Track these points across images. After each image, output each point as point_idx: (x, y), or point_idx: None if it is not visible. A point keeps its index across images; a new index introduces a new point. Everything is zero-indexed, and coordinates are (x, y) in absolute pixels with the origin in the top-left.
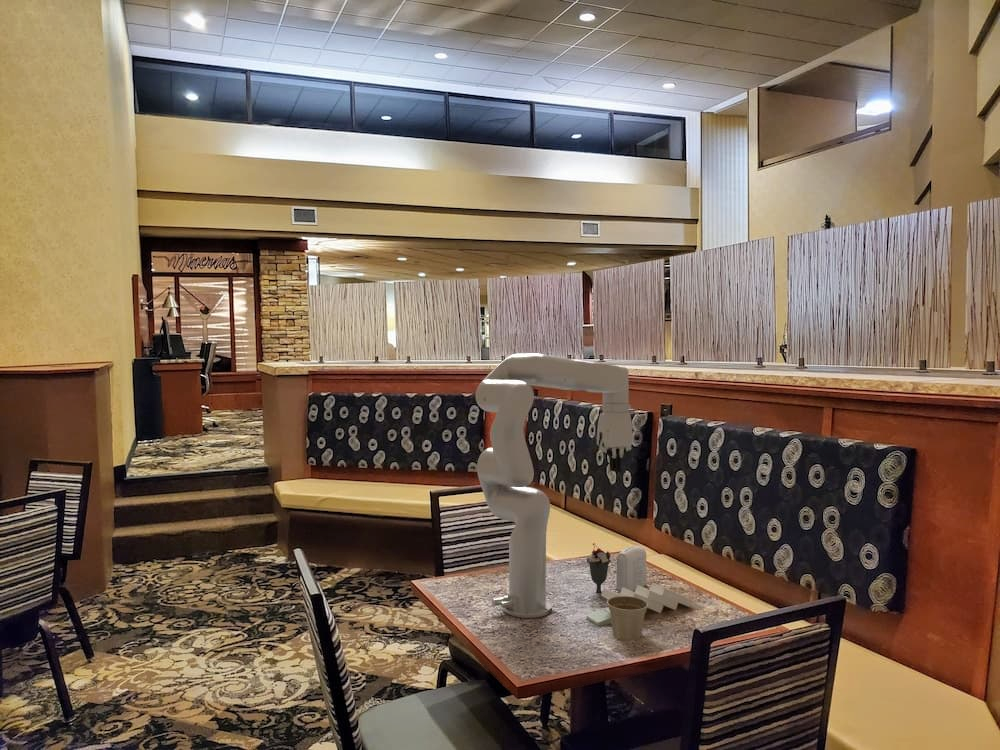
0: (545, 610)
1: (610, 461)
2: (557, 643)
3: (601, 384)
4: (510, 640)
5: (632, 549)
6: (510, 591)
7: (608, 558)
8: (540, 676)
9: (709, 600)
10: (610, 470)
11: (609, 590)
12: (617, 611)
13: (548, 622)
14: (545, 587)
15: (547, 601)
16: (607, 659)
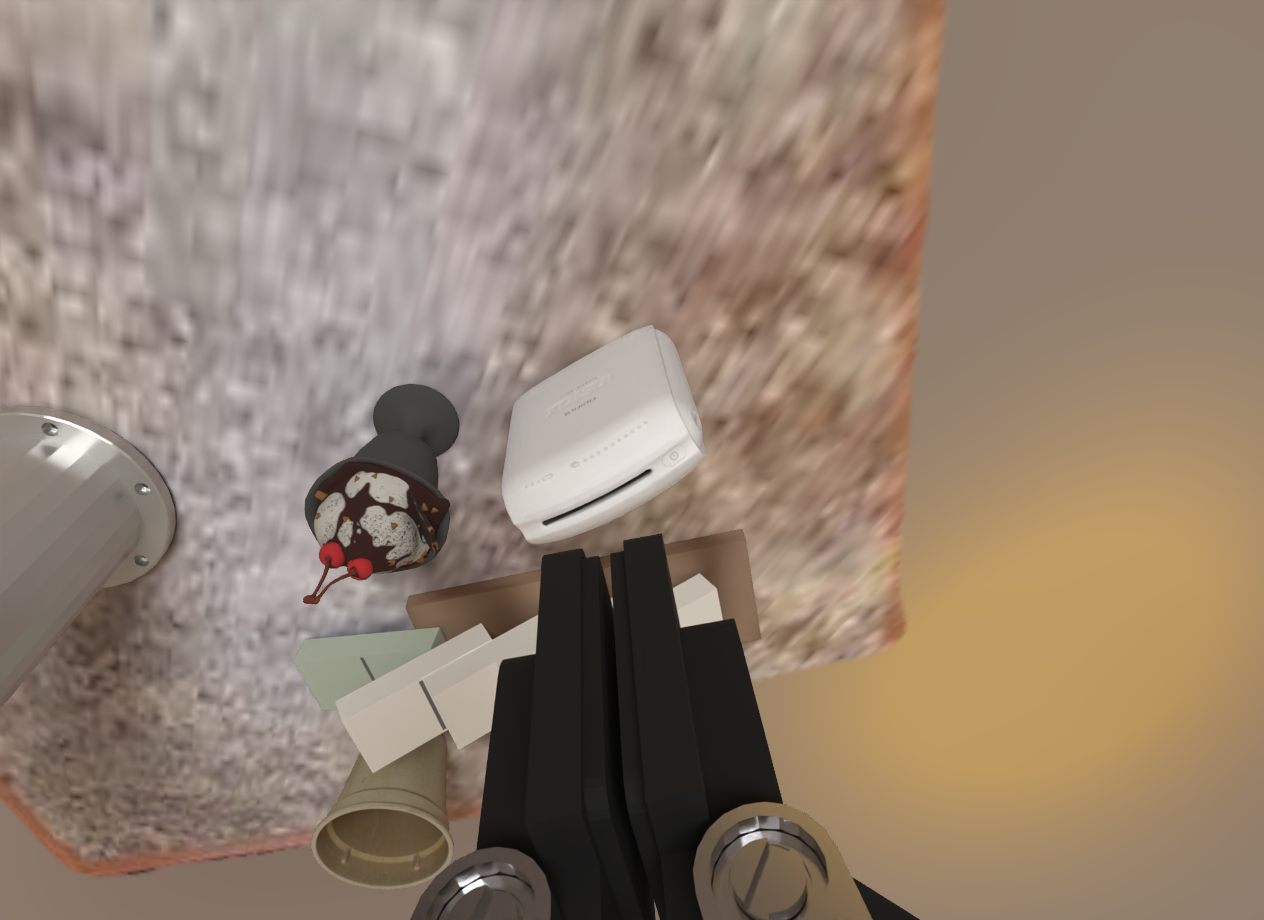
0: (138, 569)
1: (496, 810)
2: (185, 736)
3: None
4: (25, 704)
5: (595, 523)
6: None
7: (428, 544)
8: (131, 857)
9: (852, 538)
10: (547, 559)
11: (359, 737)
12: (340, 862)
13: (159, 611)
14: (93, 592)
15: (149, 486)
16: (318, 817)
